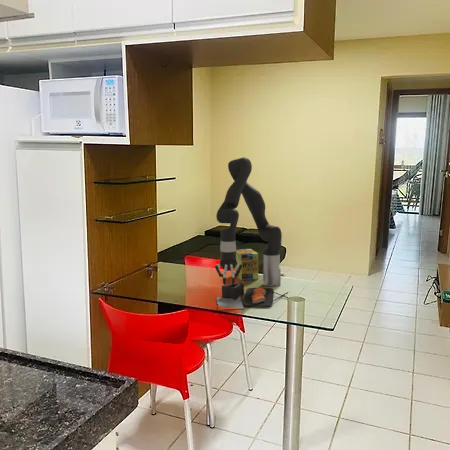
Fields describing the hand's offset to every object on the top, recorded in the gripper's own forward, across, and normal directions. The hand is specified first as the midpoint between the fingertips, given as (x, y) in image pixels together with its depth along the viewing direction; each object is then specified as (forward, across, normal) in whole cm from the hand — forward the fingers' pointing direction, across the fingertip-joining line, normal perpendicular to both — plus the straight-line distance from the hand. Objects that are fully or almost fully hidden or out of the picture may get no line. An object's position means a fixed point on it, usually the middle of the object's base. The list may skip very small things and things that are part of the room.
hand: (228, 284), depth 223 cm
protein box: (+10, -14, -49) cm, 52 cm away
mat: (+10, 0, 0) cm, 10 cm away
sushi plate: (+10, -23, -5) cm, 26 cm away
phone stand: (+6, 0, -6) cm, 9 cm away
